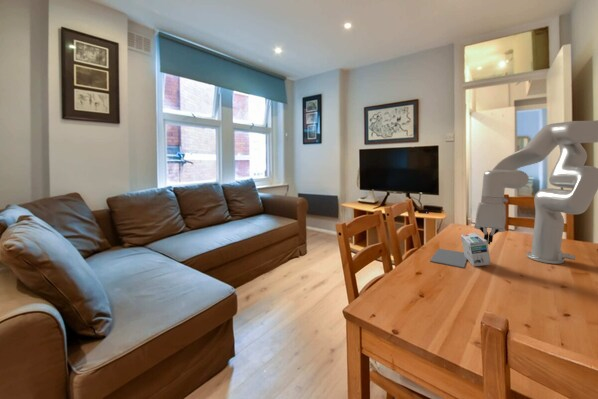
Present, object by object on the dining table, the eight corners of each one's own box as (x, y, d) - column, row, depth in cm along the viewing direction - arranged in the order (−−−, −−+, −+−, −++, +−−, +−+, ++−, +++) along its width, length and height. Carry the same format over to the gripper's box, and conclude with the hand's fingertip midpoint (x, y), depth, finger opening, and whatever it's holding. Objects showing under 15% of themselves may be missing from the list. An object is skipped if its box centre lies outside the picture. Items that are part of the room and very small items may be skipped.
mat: (468, 254, 129) (468, 253, 129) (463, 268, 113) (463, 267, 113) (438, 249, 137) (438, 248, 137) (429, 261, 121) (429, 260, 121)
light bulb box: (491, 264, 113) (487, 240, 111) (473, 267, 114) (469, 243, 113) (480, 254, 123) (476, 231, 121) (464, 256, 125) (460, 234, 123)
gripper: (514, 201, 111) (509, 244, 114) (471, 198, 120) (467, 238, 123) (515, 203, 105) (510, 249, 108) (470, 200, 114) (466, 242, 117)
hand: (487, 243), depth 115 cm, fingers closed
